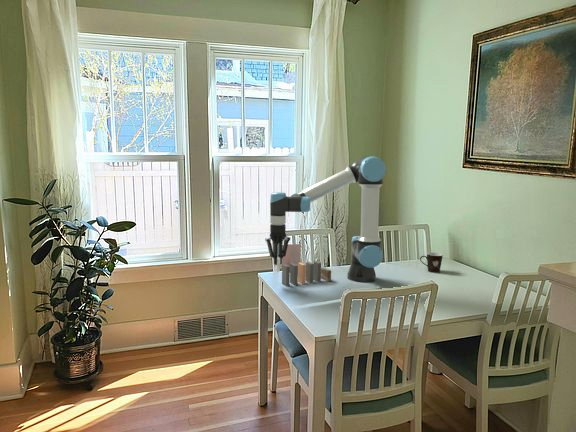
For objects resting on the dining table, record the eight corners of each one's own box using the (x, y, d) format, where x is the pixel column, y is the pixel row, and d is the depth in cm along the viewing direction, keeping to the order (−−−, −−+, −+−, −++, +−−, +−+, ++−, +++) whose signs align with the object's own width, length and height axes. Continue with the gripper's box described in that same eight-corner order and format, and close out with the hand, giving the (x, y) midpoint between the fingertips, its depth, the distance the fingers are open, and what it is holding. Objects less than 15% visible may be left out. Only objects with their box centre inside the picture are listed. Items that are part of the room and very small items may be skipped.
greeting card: (299, 269, 249) (300, 243, 247) (305, 272, 243) (305, 246, 241) (281, 271, 245) (281, 244, 243) (286, 274, 238) (286, 247, 236)
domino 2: (293, 282, 223) (293, 263, 222) (297, 284, 219) (297, 265, 217) (289, 282, 223) (290, 263, 221) (294, 285, 218) (294, 265, 217)
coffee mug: (443, 270, 250) (444, 253, 248) (439, 274, 243) (440, 256, 241) (422, 267, 256) (423, 251, 255) (418, 270, 249) (419, 253, 247)
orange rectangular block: (302, 284, 220) (302, 265, 219) (297, 281, 224) (298, 262, 223) (305, 283, 221) (305, 264, 219) (300, 281, 225) (301, 262, 224)
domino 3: (308, 280, 227) (308, 261, 226) (313, 282, 223) (313, 263, 221) (305, 280, 226) (305, 262, 225) (310, 283, 222) (310, 264, 221)
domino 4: (316, 279, 229) (316, 260, 228) (320, 281, 225) (321, 263, 223) (313, 279, 228) (313, 261, 227) (317, 282, 224) (318, 263, 222)
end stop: (324, 277, 232) (324, 266, 231) (330, 281, 226) (331, 270, 225) (320, 278, 231) (321, 267, 231) (327, 281, 225) (327, 270, 224)
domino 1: (285, 283, 221) (285, 264, 220) (289, 286, 217) (289, 266, 216) (281, 283, 221) (282, 264, 219) (286, 286, 216) (286, 266, 215)
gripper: (286, 222, 219) (286, 267, 222) (262, 223, 213) (262, 270, 216) (293, 224, 212) (292, 271, 215) (268, 225, 206) (268, 274, 210)
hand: (277, 270), depth 216 cm, fingers closed
